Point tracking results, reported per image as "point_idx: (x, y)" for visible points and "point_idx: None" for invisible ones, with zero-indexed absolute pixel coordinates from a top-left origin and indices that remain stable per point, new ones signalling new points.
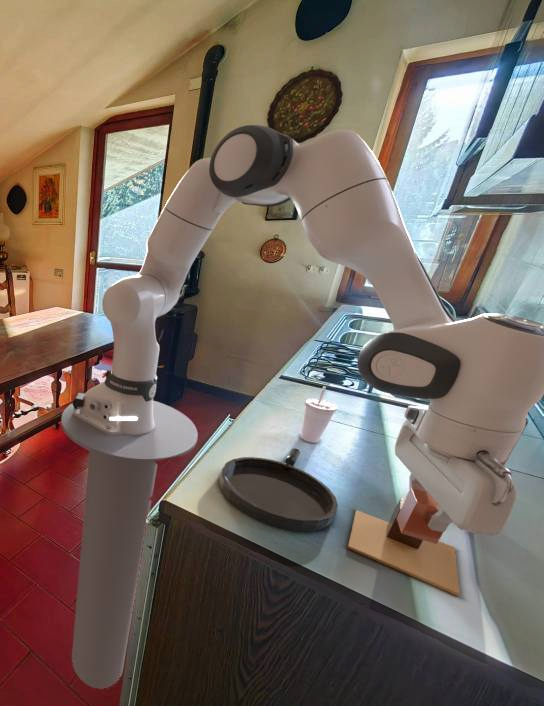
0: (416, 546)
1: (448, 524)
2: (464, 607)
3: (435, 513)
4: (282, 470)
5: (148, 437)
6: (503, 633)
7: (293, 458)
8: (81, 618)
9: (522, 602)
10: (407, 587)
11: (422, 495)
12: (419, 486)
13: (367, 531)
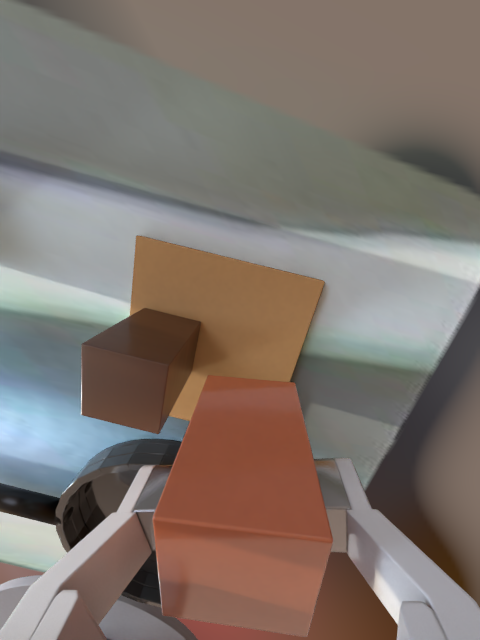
0: (199, 328)
1: (366, 496)
2: (354, 279)
3: (388, 609)
4: (75, 509)
5: (116, 636)
6: (407, 227)
7: (18, 509)
8: None
9: (273, 137)
10: (339, 365)
11: (218, 604)
12: (108, 572)
13: (195, 401)
